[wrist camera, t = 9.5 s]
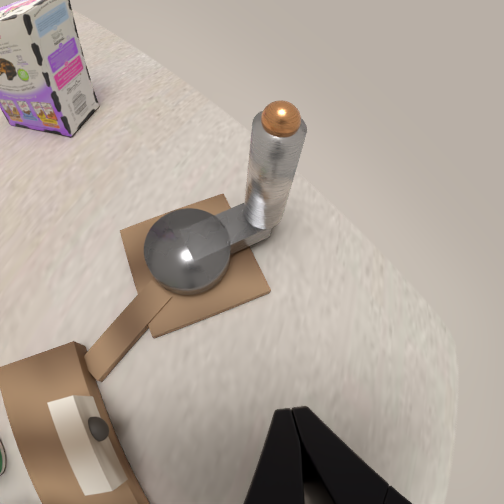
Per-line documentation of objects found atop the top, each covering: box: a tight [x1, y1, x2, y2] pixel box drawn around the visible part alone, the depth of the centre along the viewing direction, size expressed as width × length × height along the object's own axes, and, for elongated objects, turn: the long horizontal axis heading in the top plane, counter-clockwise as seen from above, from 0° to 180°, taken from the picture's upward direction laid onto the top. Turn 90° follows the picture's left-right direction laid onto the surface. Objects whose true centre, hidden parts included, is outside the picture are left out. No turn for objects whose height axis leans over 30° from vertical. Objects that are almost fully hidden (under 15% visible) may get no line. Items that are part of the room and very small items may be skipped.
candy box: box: [0, 0, 99, 137], centre depth 23 cm, size 14×6×16 cm, turn 70°
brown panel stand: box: [0, 194, 271, 504], centre depth 18 cm, size 22×22×5 cm
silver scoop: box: [144, 101, 307, 295], centre depth 18 cm, size 10×6×11 cm, turn 119°
